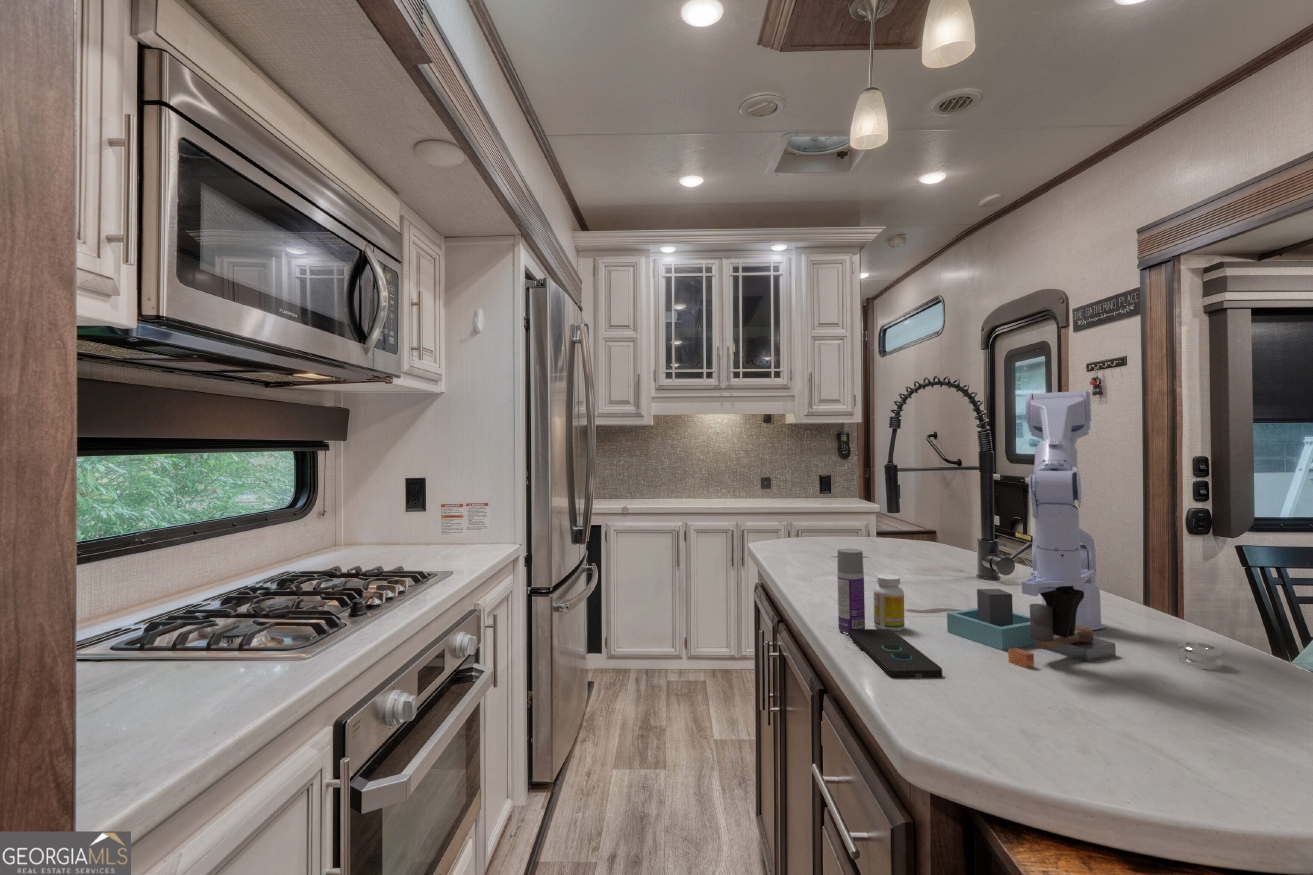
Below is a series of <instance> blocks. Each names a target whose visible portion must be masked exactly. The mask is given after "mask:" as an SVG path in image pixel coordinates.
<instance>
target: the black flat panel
mask: <svg viewBox="0 0 1313 875" xmlns="http://www.w3.org/2000/svg"><path fill="white" fill-rule="evenodd" d="M847 635H849V637H850V638H851V639H852V640H851V639H850V638H849V637H848V638H849V639H850V640H851V641H852V642H853V643H854V644H855V645H856V646H857V648H859V649H860V650H861V651H862V652H863V651H864V652H865V653H866V654H867V655H868V656H869V657H870V658H871V659H872V660H873V661H874V662H875V663H876V664H877V665H878V666H879V667H880V668H881V669H882V670H883V671H884V672H883V671H882V670H881V669H880V668H879V667H878V666H877V665H876V664H875V663H874V662H873V661H872V660H871V659H870V658H869V657H868V656H867V655H866V654H865V653H864V652H863V653H864V654H865V655H866V656H867V657H868V658H869V659H870V660H871V661H872V662H873V663H874V664H875V665H876V666H877V667H878V668H879V669H880V670H881V671H882V672H883V673H884V674H885V675H886V676H887V677H889V678H890V679H891V678H892V679H930V678H932V679H933V678H936V679H937V678H943V668H942V667H941V665H939V664H937V663H936V662H935V661H933V660H932V659H931V658H929V657H928V656H927V655H925V653H923V652H921V651H920V650H919V649H917V647H915V646H914V645H912V644H911V643H910V642H909V641H907V640H906V639H905V638H904V637H902V636H901V635H899V634H898V633H897V632H896V631H893V630H891V629H878V628H870V629H869V628H868V629H867V628H865V629H855V630H848V634H847Z"/></svg>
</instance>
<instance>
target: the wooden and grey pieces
mask: <svg viewBox="0 0 1313 875" xmlns="http://www.w3.org/2000/svg"><path fill="white" fill-rule="evenodd" d="M1042 649H1043V650H1045V649H1044V648H1042ZM1046 650H1047V651H1050V652H1054V653H1057V654H1060V655H1063V656H1066V657H1070V658H1072V659H1077V660H1079V661H1082V662H1085V663H1089V662H1093V661H1100V660H1104V659H1107V658H1108V659H1109V658H1113V657H1116V656H1117V654H1116V653H1117V652H1116V651H1117V650H1116V643H1115V642H1113V641H1109V640H1104V639H1102V638H1101V639H1100V638H1098V637H1094V636H1093V641H1091V642H1081V641H1078V642H1075V643H1071V644H1068V645H1064V646H1061V647H1058V648H1054V649H1051V650H1048V649H1046ZM1007 653H1008V654H1007V655H1008V662H1009V663H1011V664H1014V665H1017V666H1019V667H1022V668H1025V669H1029V668H1034V667H1035V655H1034V653H1033V652H1030V651H1027V650H1023V649H1021V648H1019V647H1018V648H1011V649H1008V650H1007Z"/></svg>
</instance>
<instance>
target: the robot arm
mask: <svg viewBox="0 0 1313 875" xmlns="http://www.w3.org/2000/svg"><path fill="white" fill-rule="evenodd" d="M1091 406H1092V405H1091V392H1089V391H1088V390H1087V389H1083V390H1078V391H1076V390H1073V391H1059V392H1058V391H1056V392H1044V393H1043V392H1040V393H1032V392H1030V393H1028V394H1027V395H1026V396H1025V417H1026V418H1025V419H1026V420H1025V421H1026V423H1027V427H1028V431H1029V433H1030V435H1031V436H1032V437H1033V438H1037V439H1040V440H1042V441H1041V442H1040V443H1039V444H1038V445H1037V446H1036V448H1035V451H1034V465H1033V468H1034V469H1033V474H1032V473H1030V474H1029V477H1028V493H1029V494H1028V495H1029V500H1030V504H1031V509H1032V510H1031V511H1032V518H1034V535H1033V536H1032V545H1031V566H1032V570H1031V571H1030V577H1029V578H1027V579H1023V580H1021V594H1022V595H1028V596H1032V597H1038V596H1039V595H1040V596H1041V604H1044V605H1047V606H1051V607H1053V634H1054V635H1057V636H1061V637H1064V638H1067V637H1068V636H1074V633H1075V625H1077V626H1083V627H1087V628H1090V629H1092V630H1093V631H1095V630H1102V629H1106V628H1107V625H1106V624H1105V623H1102V609H1101V607H1102V606H1101V593H1100V589H1099V587H1098V585H1097V584H1096V577H1097V559H1096V558H1097V557H1096V556H1097V554H1096V547H1095V539H1094V538H1093V536H1092V535H1091V534H1089V533H1088V532H1087V531H1085V530H1083V529H1082V528H1080V517H1079V515H1080V514H1079V513H1080V512H1079V509H1080V508H1081V504H1082V484H1081V483H1082V481H1081V475H1080V472H1079V468H1078V450H1077V447H1076V444H1077V442H1078V439H1081V438H1084V437H1086V436H1089V433H1090V432H1089V431H1091V421H1092V411H1091V410H1092V409H1091ZM1076 501H1077V502H1078V503H1077V504H1078V507H1077V506H1076Z"/></svg>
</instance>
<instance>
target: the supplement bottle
mask: <svg viewBox="0 0 1313 875" xmlns="http://www.w3.org/2000/svg"><path fill="white" fill-rule="evenodd" d="M876 579H877V581H876V582H877V585H876V586H875V587H874V589H873V622H874V623H873V624H874V626H875V628H876V629H878V628H879V629H891V630H893V631H894V632H901V631H902V630H904V628H905V592H904V590H903V588H901V587H900V584H901V578H900V576H898V575H894V574H879V575H877V578H876Z"/></svg>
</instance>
